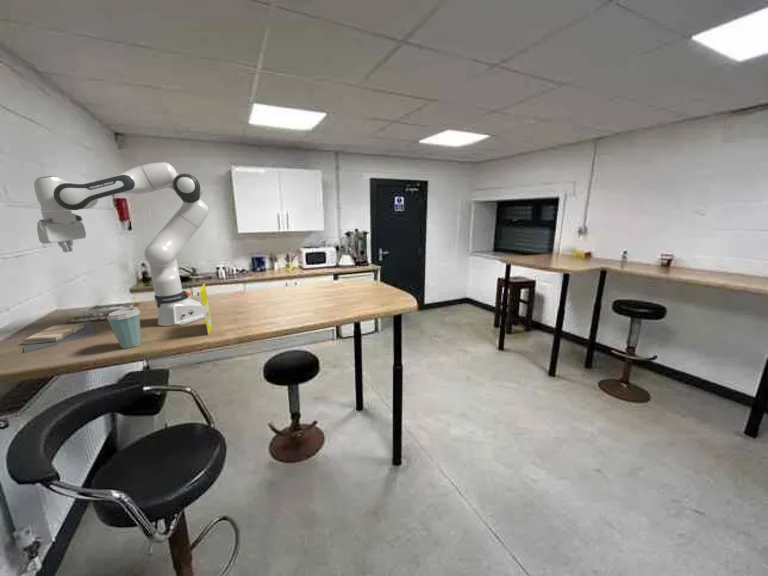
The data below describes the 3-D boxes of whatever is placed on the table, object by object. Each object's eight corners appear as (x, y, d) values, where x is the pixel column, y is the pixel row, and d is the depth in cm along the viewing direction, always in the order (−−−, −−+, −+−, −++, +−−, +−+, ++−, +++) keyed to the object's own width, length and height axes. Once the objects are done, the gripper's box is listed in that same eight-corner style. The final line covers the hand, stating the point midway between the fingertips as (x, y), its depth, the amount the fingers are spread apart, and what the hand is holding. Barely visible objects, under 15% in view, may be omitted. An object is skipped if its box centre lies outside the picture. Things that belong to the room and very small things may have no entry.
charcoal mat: (90, 321, 161) (90, 320, 161) (96, 335, 144) (96, 334, 143) (26, 335, 146) (26, 334, 146) (24, 352, 129) (23, 351, 128)
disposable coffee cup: (110, 352, 126) (99, 316, 122) (121, 341, 136) (112, 308, 132) (142, 348, 129) (133, 312, 125) (151, 337, 139) (143, 304, 135)
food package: (210, 323, 154) (203, 282, 148) (213, 323, 154) (206, 282, 149) (207, 335, 140) (198, 290, 135) (209, 334, 140) (201, 290, 135)
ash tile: (53, 325, 149) (22, 339, 134) (82, 323, 151) (55, 337, 136) (55, 330, 150) (24, 344, 135) (84, 327, 152) (57, 342, 137)
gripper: (46, 219, 123) (57, 255, 127) (84, 216, 143) (93, 248, 146) (27, 220, 122) (38, 256, 126) (68, 217, 142) (77, 248, 145)
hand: (68, 251), depth 136 cm, fingers closed
